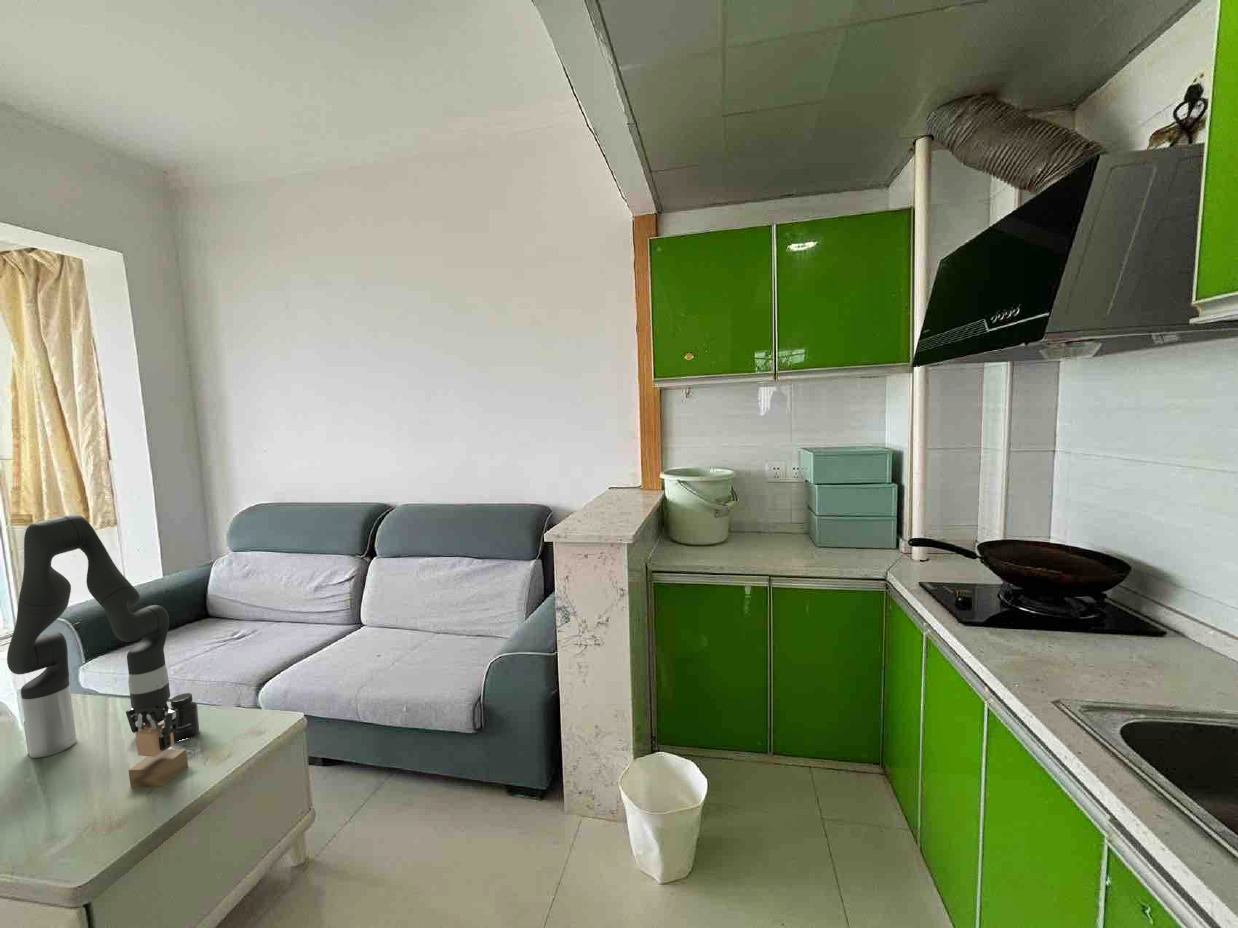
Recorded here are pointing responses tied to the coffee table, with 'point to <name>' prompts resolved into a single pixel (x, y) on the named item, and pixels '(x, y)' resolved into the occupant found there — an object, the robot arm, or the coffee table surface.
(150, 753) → the tan block
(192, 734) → the supplement bottle
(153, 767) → the walnut box
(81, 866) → the coffee table surface
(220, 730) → the coffee table surface
